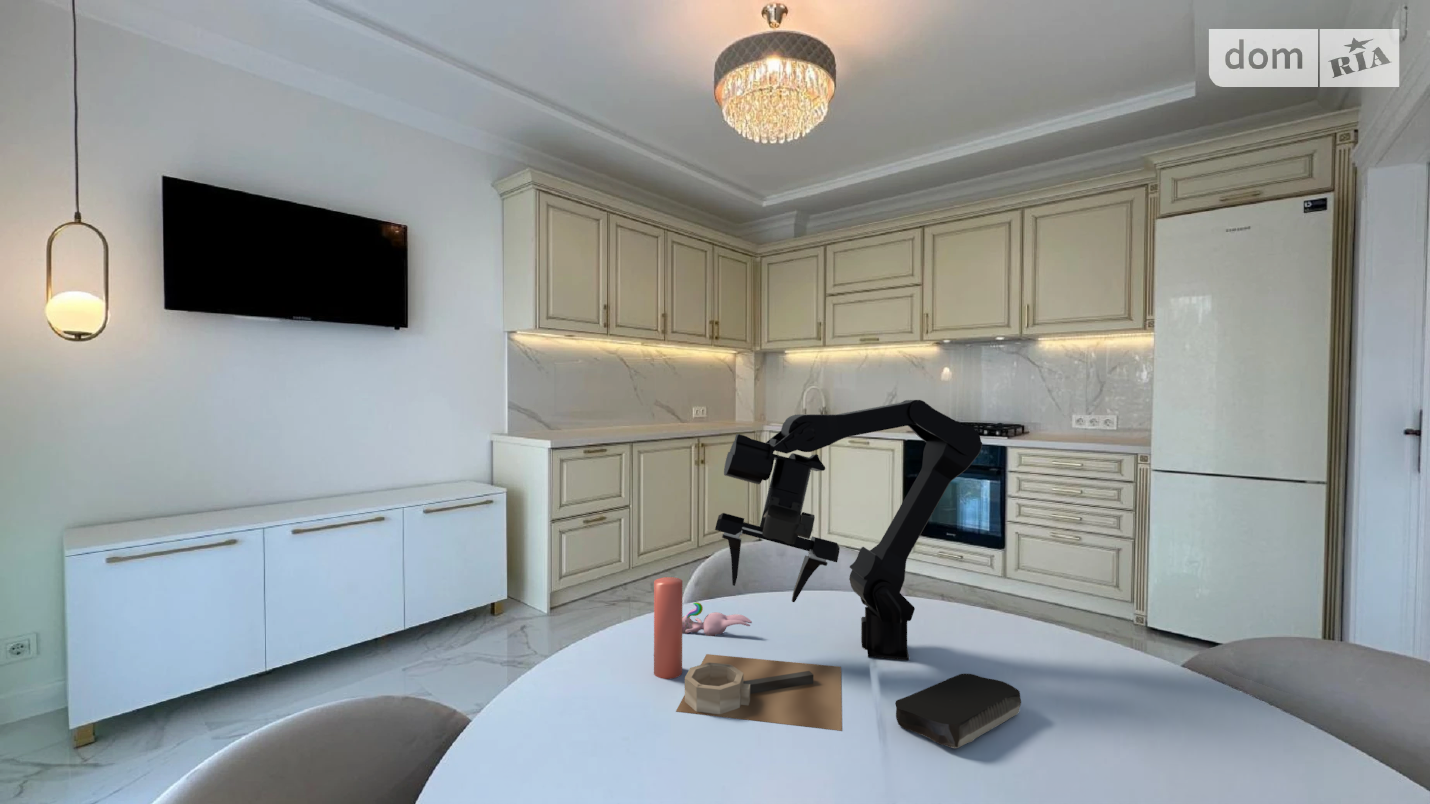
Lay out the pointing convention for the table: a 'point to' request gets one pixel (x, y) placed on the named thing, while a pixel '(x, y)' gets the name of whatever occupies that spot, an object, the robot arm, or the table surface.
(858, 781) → the table surface
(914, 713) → the black sponge
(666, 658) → the red plug
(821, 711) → the walnut board
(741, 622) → the rabbit figure
